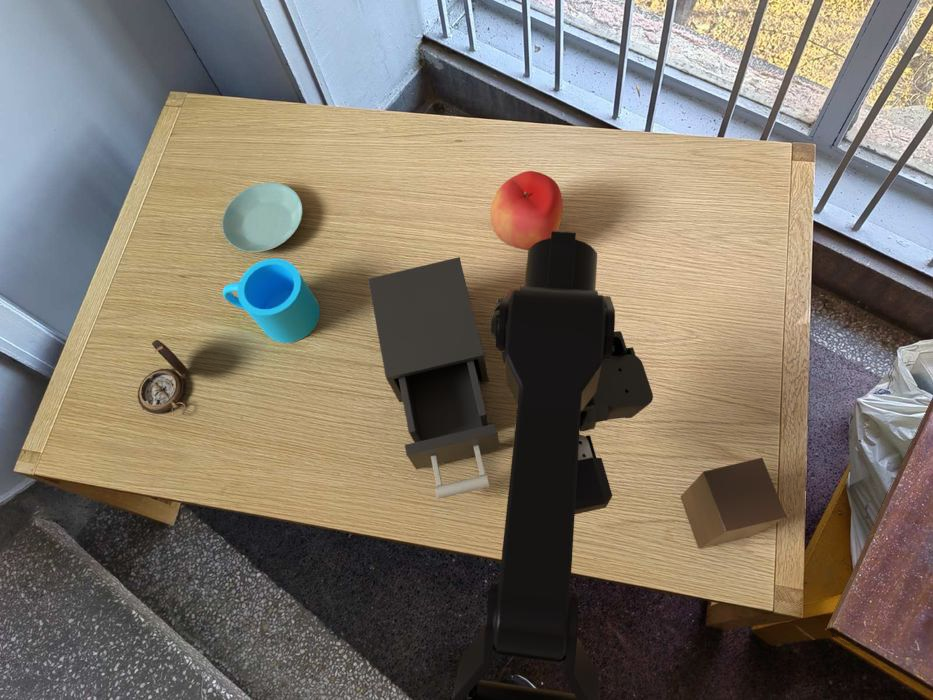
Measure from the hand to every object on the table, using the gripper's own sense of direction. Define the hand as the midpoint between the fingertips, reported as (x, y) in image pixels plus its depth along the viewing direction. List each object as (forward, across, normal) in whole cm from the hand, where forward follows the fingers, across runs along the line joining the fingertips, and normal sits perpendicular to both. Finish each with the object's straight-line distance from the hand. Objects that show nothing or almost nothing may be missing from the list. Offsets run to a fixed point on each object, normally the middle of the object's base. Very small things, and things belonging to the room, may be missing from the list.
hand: (549, 436), depth 69 cm
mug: (+13, +29, +31) cm, 44 cm away
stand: (+13, -10, -17) cm, 24 cm away
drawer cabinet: (+13, +19, +10) cm, 25 cm away
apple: (+13, +32, -5) cm, 35 cm away
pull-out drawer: (+12, +7, +10) cm, 17 cm away
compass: (+13, +20, +46) cm, 52 cm away
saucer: (+13, +44, +31) cm, 55 cm away
